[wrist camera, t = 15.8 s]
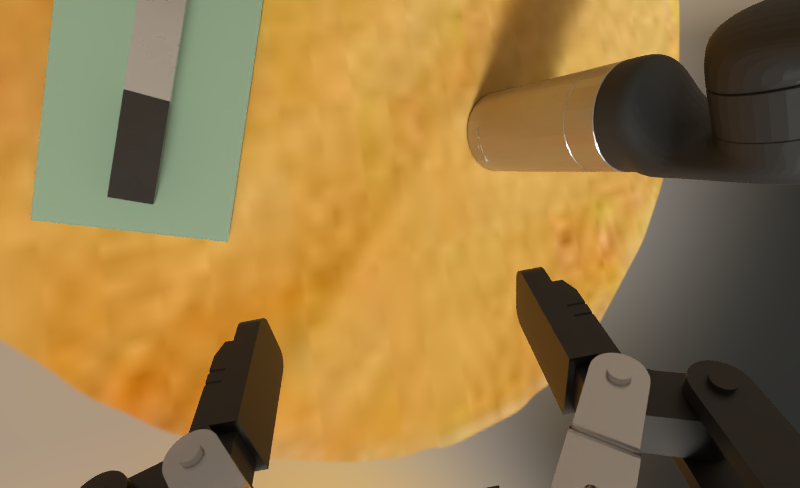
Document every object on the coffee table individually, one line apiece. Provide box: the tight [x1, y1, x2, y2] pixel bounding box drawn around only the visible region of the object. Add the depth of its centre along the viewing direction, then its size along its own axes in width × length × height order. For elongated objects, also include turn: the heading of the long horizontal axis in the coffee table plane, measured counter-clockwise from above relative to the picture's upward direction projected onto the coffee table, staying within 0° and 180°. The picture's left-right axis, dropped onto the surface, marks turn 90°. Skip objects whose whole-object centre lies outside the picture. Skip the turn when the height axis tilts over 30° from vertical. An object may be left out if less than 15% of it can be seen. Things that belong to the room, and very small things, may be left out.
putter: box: [107, 0, 188, 205], centre depth 33 cm, size 24×8×3 cm, turn 166°
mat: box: [31, 0, 263, 242], centre depth 35 cm, size 27×14×1 cm, turn 167°
